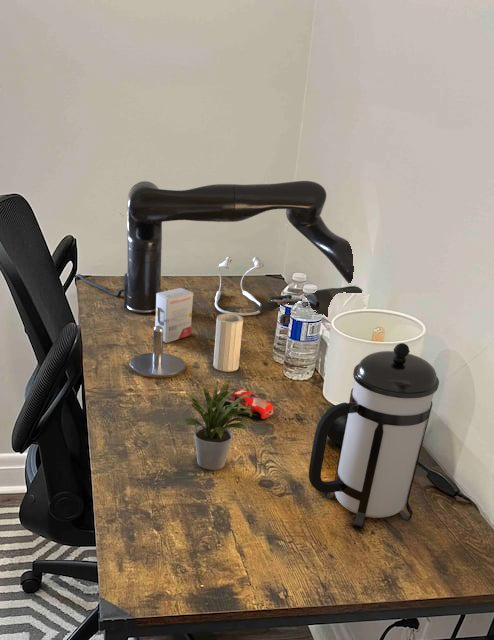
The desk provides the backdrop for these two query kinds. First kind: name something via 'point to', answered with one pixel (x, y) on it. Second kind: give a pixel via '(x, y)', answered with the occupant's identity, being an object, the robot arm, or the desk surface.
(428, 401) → the coffee press
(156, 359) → the stand
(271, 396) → the desk surface
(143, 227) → the robot arm
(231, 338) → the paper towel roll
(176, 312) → the ink box
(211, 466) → the house plant
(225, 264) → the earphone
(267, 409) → the race car
